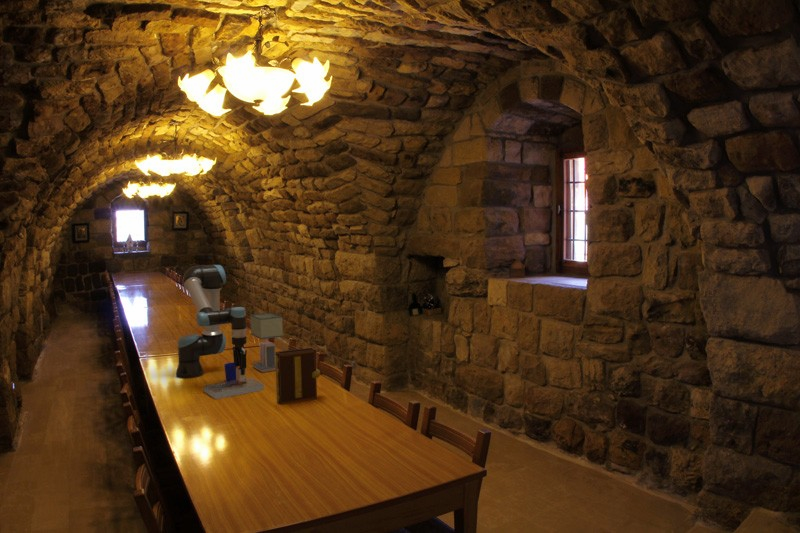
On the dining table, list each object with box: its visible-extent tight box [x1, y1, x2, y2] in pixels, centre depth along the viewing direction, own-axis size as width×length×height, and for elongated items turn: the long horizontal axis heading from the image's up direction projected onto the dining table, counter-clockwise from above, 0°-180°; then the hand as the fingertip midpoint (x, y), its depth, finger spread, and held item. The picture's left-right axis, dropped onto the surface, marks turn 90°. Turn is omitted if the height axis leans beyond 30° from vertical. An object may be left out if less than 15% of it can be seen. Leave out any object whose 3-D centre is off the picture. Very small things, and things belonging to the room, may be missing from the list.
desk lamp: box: [249, 312, 284, 373], centre depth 361 cm, size 18×14×33 cm
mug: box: [224, 361, 246, 382], centre depth 333 cm, size 8×12×10 cm
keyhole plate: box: [203, 376, 265, 400], centre depth 315 cm, size 26×17×3 cm, turn 128°
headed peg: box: [237, 366, 243, 385], centre depth 317 cm, size 5×5×12 cm
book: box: [275, 347, 321, 405], centre depth 296 cm, size 22×8×25 cm, turn 117°
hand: (240, 379), depth 317 cm, fingers closed on headed peg, 3 cm apart
